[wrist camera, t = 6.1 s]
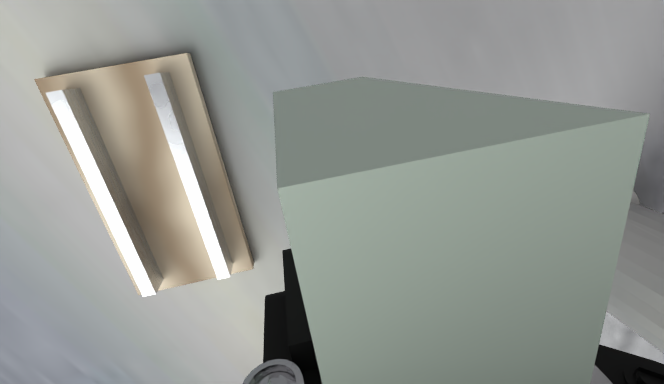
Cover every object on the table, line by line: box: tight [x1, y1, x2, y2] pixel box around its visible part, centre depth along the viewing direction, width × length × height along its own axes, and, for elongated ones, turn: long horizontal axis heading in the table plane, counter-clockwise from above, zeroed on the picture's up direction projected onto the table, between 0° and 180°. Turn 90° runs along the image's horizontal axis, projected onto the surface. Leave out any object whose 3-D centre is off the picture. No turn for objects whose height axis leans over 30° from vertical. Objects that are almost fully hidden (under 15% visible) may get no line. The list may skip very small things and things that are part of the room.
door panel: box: [273, 77, 650, 384], centre depth 9 cm, size 3×12×9 cm, turn 9°
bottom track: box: [34, 53, 254, 297], centre depth 25 cm, size 10×18×3 cm, turn 10°
